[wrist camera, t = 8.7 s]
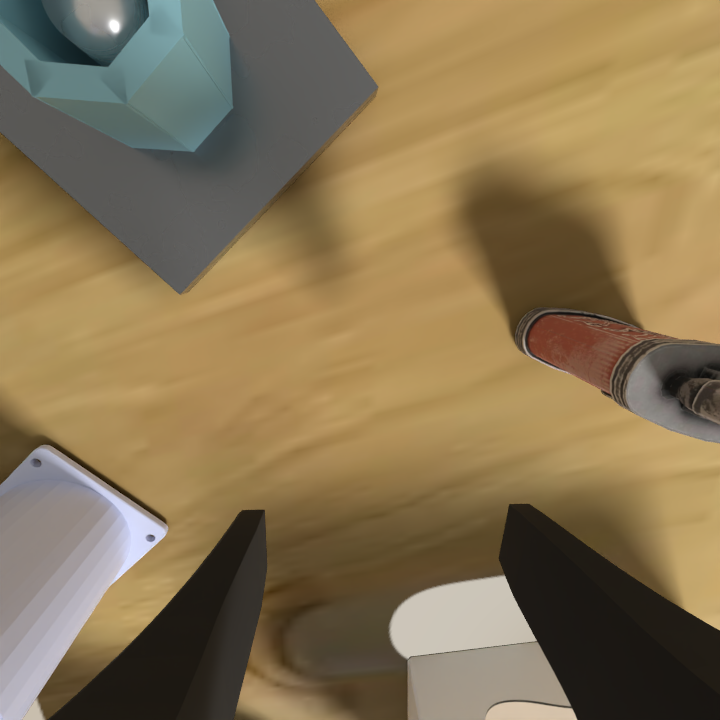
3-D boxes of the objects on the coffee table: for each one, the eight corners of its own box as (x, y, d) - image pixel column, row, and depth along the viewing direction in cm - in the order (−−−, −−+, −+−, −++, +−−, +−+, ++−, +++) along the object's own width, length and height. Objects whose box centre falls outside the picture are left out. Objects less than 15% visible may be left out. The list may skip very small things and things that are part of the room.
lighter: (505, 357, 19) (677, 462, 10) (528, 295, 18) (744, 346, 9) (632, 386, 20) (896, 506, 11) (660, 330, 20) (974, 408, 10)
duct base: (188, 292, 17) (132, 309, 12) (-65, 60, 14) (-277, -41, 9) (375, 97, 15) (396, 27, 10) (136, -222, 12) (7, -537, 7)
